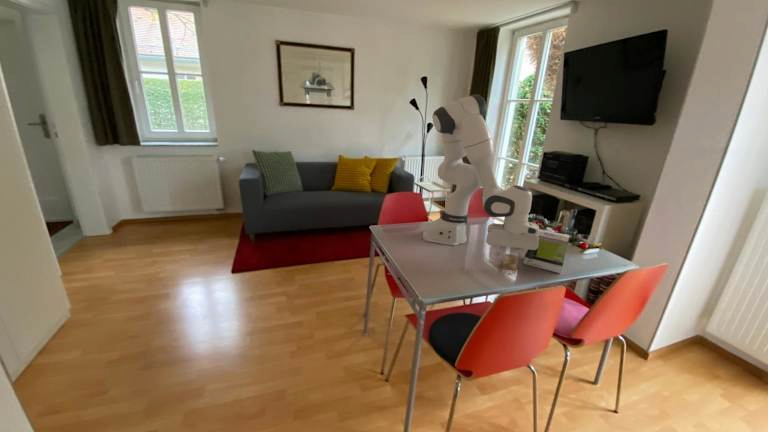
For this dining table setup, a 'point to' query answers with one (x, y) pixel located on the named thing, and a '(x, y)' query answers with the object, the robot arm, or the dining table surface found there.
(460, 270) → the dining table surface
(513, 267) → the oak block
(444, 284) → the dining table surface
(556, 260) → the tea box
